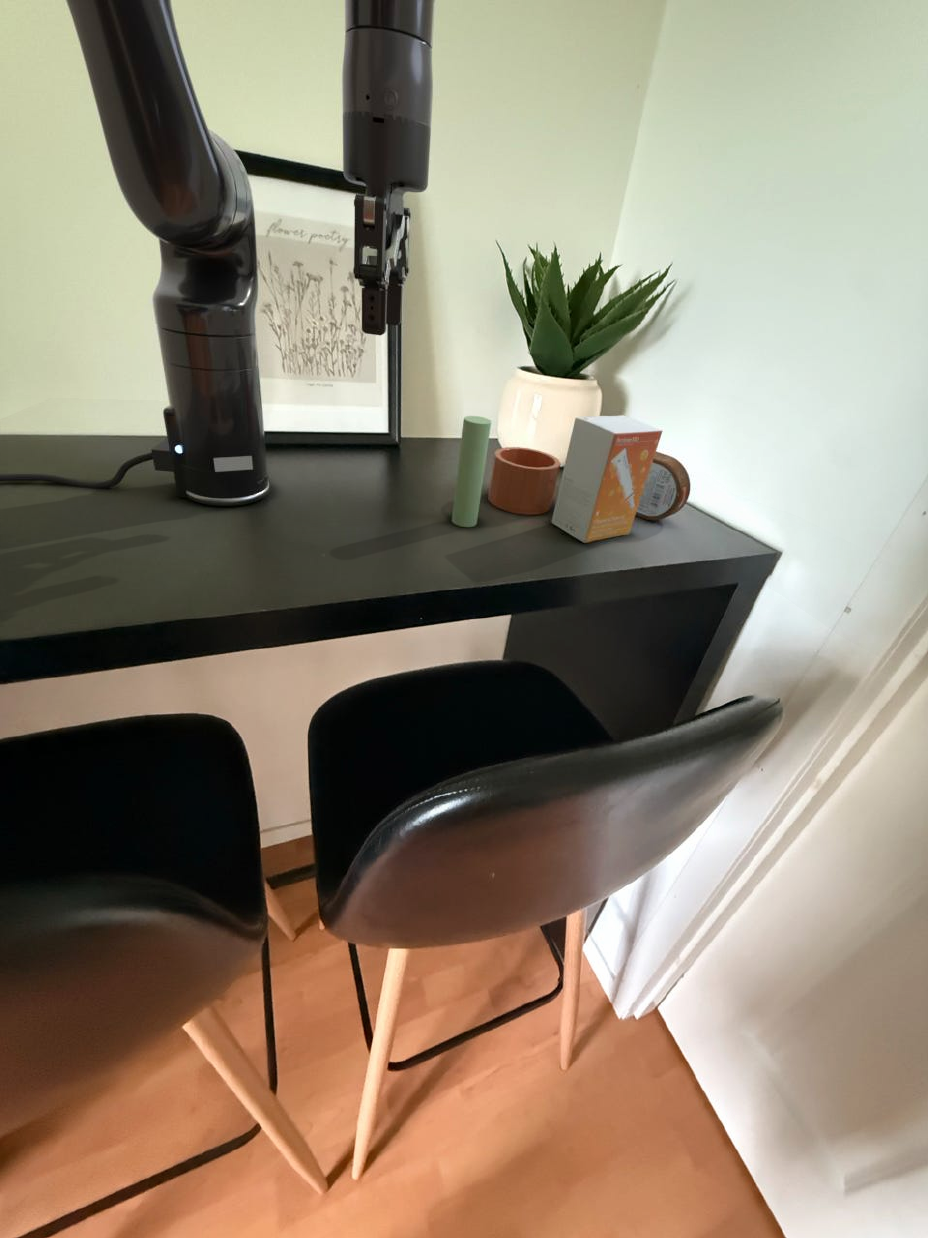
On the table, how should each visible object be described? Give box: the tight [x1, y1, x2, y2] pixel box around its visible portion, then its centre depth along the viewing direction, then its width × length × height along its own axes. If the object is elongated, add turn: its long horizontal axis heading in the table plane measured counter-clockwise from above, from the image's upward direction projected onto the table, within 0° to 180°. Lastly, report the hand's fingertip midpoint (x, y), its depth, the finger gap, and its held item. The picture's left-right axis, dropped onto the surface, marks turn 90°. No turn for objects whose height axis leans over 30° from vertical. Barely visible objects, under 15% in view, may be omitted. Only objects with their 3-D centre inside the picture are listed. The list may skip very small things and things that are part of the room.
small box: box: [550, 414, 663, 544], centre depth 65 cm, size 8×6×13 cm
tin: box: [635, 450, 691, 521], centre depth 74 cm, size 15×3×8 cm, turn 47°
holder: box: [487, 446, 562, 516], centre depth 72 cm, size 8×8×6 cm
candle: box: [451, 415, 492, 528], centre depth 63 cm, size 3×3×12 cm
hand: (382, 328), depth 56 cm, fingers open, 8 cm apart
